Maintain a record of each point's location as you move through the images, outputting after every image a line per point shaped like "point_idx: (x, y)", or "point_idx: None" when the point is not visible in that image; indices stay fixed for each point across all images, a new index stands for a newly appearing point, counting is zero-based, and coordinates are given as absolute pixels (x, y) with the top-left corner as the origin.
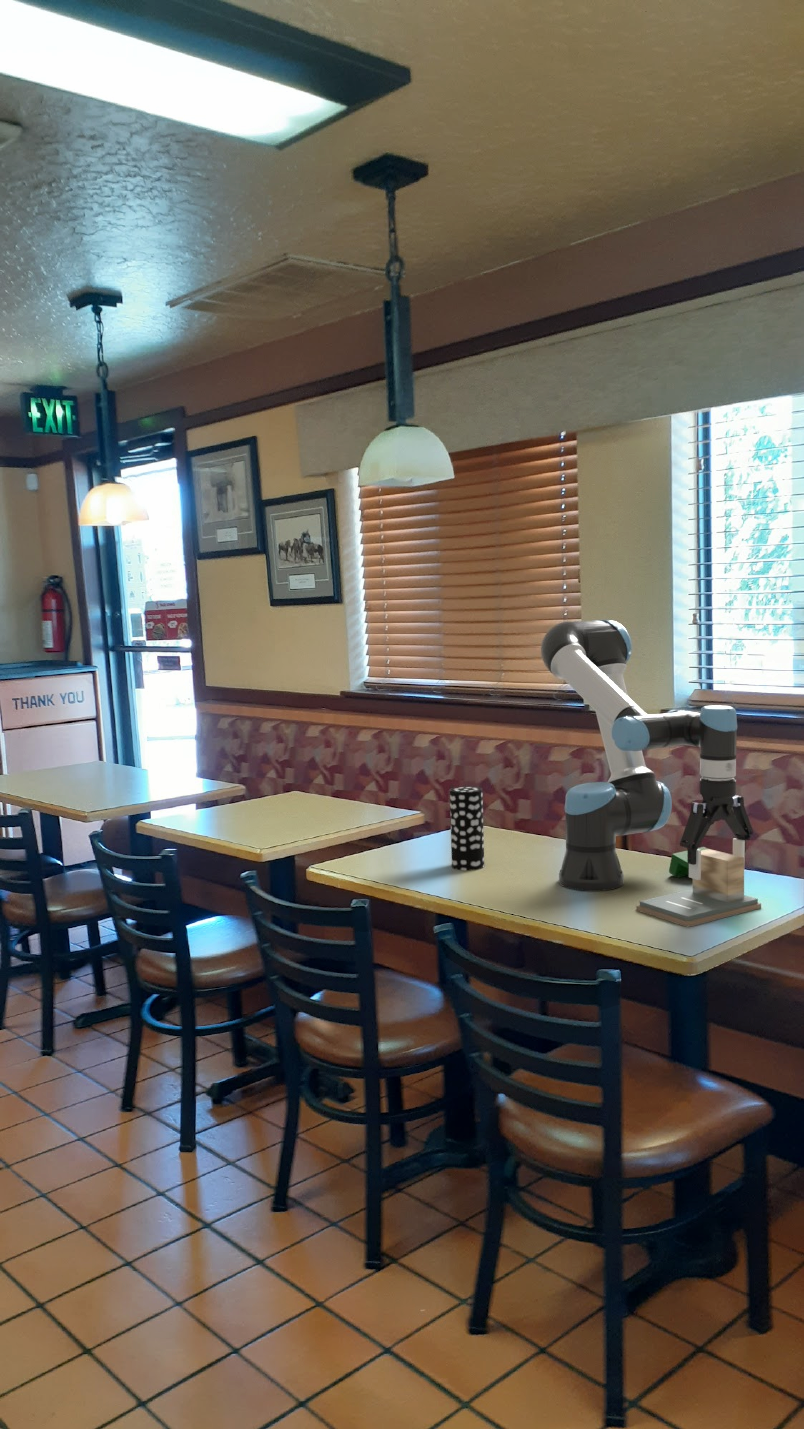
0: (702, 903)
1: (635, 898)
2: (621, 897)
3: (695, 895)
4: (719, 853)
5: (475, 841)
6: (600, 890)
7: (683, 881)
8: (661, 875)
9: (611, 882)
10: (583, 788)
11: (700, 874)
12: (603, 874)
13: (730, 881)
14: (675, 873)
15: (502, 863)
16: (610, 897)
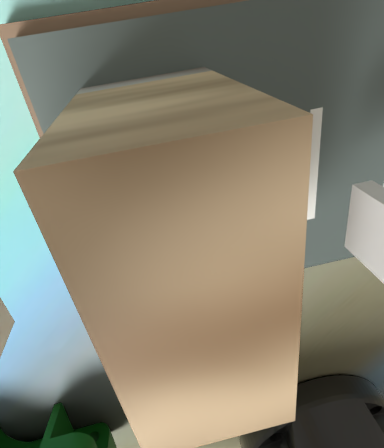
0: (311, 113)
1: (329, 312)
2: (348, 328)
3: None
4: (161, 369)
5: None
6: (346, 375)
7: (106, 395)
8: (129, 438)
9: (327, 394)
10: None
11: (373, 198)
12: (358, 417)
13: (209, 86)
14: (109, 432)
15: None
16: (367, 334)
